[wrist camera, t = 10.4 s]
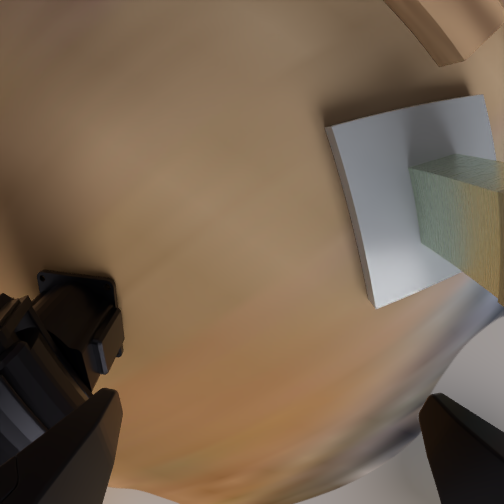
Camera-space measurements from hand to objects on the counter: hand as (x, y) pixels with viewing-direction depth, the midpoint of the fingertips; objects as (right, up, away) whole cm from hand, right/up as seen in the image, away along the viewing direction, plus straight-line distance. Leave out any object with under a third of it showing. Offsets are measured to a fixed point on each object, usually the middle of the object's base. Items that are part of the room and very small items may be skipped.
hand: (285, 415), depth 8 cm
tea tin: (+11, +8, +10) cm, 17 cm away
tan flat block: (+11, +23, +6) cm, 26 cm away
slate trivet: (+11, +8, +11) cm, 18 cm away
